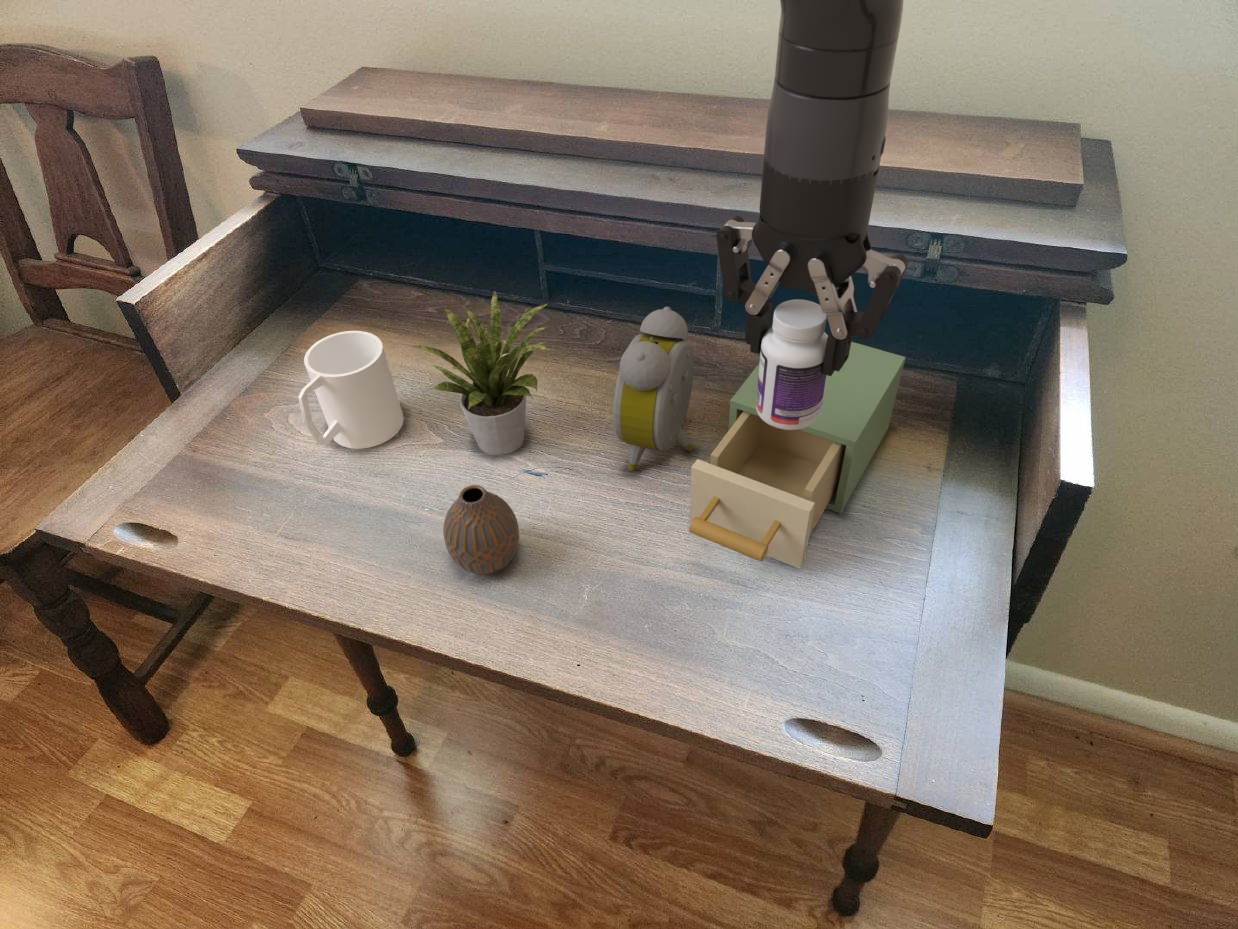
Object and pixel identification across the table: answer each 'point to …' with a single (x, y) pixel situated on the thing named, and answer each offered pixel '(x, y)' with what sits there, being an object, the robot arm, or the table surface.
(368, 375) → the cup
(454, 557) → the vase
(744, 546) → the drawer
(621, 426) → the alarm clock
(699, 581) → the table surface
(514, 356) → the house plant
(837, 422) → the cabinet
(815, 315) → the pill bottle
